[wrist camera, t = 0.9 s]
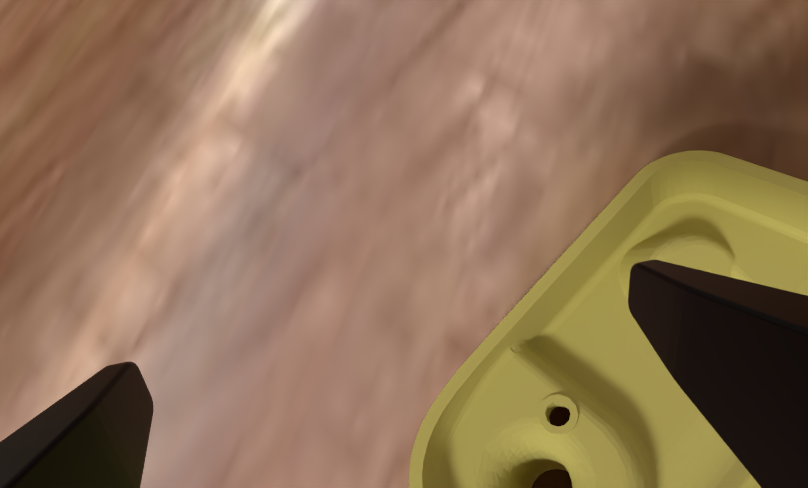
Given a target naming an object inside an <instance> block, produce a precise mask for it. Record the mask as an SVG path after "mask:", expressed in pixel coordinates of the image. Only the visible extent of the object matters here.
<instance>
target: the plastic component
mask: <svg viewBox="0 0 808 488" xmlns="http://www.w3.org/2000/svg"><path fill="white" fill-rule="evenodd" d="M648 260H660V261H664V262H668V263H673V264H677V265H681V266H685V267H689V268H694V269H698V270H702V271H706V272H710V273H715V274H719V275H723V276H727V277H731V278H736V279H740V280H744V281H748V282H752V283H757V284H761V285H765V286H769V287H773V288H778V289H782V290H786V291H790V292H794V293H799V294H803V295H807V296H808V182H807V181H804V180H801V179H798V178H795V177H792V176H789V175H786V174H783V173H780V172H777V171H774V170H771V169H768V168H765V167H762V166H759V165H756V164H753V163H750V162H747V161H744V160H741V159H738V158H735V157H732V156H729V155H726V154H723V153H719V152H712V151H706V150H699V151H684V152H679V153H673V154H670V155H667V156H664V157H662V158H659V159H657V160H655V161H653V162H651V163H650V164H648V165H647V166H645V167H644V168H643V169H641V170H640V171H639V172H638V173H637V174H636V175H635V176H634V177H633V178H632V180H631V181H630V182H629V183H628V184H627V185H626V186H625V187H624V188H623V189H622V190H621V192H620V193H619V194H618V195H617V196H616V197H615V198H614V199H613V200H612V201H611V202H610V203H609V205H608V206H607V207H606V208H605V209H604V210H603V211H602V212H601V213H600V214H599V215H598V217H597V218H596V219H595V220H594V221H593V222H592V223H591V224H590V225H589V226H588V227H587V229H586V230H585V231H584V232H583V233H582V234H581V235H580V236H579V237H578V238H577V239H576V241H575V242H574V243H573V244H572V245H571V246H570V247H569V248H568V249H567V250H566V251H565V253H564V254H563V255H562V256H561V257H560V258H559V259H558V260H557V261H556V262H555V263H554V265H553V266H552V267H551V268H550V269H549V270H548V271H547V272H546V273H545V274H544V275H543V277H542V278H541V279H540V280H539V281H538V282H537V283H536V284H535V285H534V286H533V287H532V289H531V290H530V291H529V292H528V293H527V294H526V295H525V296H524V297H523V298H522V299H521V301H520V302H519V303H518V304H517V305H516V306H515V307H514V308H513V309H512V310H511V311H510V313H509V314H508V315H507V316H506V317H505V318H504V319H503V320H502V321H501V322H500V323H499V325H498V326H497V327H496V328H495V329H494V330H493V331H492V332H491V333H490V334H489V335H488V337H487V338H486V339H485V340H484V341H483V342H482V343H481V344H480V346H479V347H478V348H477V349H476V350H475V351H474V352H473V354H472V355H471V356H470V357H469V358H468V359H467V360H466V362H465V363H464V364H463V365H462V366H461V367H460V368H459V369H458V371H457V372H456V373H455V375H454V376H453V377H452V378H451V380H450V381H449V382H448V383H447V385H446V386H445V387H444V389H443V390H442V391H441V393H440V394H439V396H438V397H437V399H436V400H435V401H434V403H433V404H432V406H431V408H430V409H429V411H428V413H427V415H426V417H425V419H424V420H423V422H422V425H421V427H420V430H419V432H418V434H417V437H416V440H415V443H414V447H413V450H412V455H411V461H410V468H409V488H532V486H533V483H534V481H535V480H536V479H537V478H538V476H539V475H540V474H542V473H544V472H545V471H547V470H553V469H560V470H564V471H567V472H569V475H570V478H571V481H572V488H761V487H760V485H759V484H758V483H757V482H756V481H755V479H754V478H753V477H752V476H751V474H750V473H749V472H748V471H747V469H746V468H745V467H744V466H743V464H742V463H741V462H740V461H739V460H738V458H737V457H736V456H735V455H734V453H733V452H732V451H731V450H730V448H729V447H728V446H727V445H726V443H725V442H724V441H723V440H722V438H721V437H720V436H719V435H718V434H717V432H716V431H715V430H714V429H713V427H712V426H711V425H710V424H709V422H708V421H707V420H706V419H705V417H704V416H703V415H702V414H701V413H700V411H699V410H698V409H697V408H696V406H695V405H694V404H693V403H692V401H691V400H690V399H689V398H688V396H687V395H686V394H685V393H684V392H683V390H682V389H681V388H680V386H679V385H678V384H677V382H676V381H675V380H674V379H673V377H672V376H671V374H670V373H669V371H668V370H667V369H666V367H665V366H664V364H663V362H662V361H661V359H660V358H659V356H658V355H657V353H656V352H655V350H654V349H653V347H652V345H651V344H650V342H649V341H648V339H647V338H646V336H645V335H644V333H643V332H642V330H641V328H640V327H639V325H638V324H637V322H636V321H635V319H634V318H633V316H632V314H631V312H630V310H629V306H628V293H629V280H630V270H631V267H632V266H633V265H634V264H635V263H638V262H643V261H648ZM556 407H565V408H567V409H569V411H570V418H569V421H568V422H567V423H566V424H565V425H562V426H559V427H558V426H554V425H551V424H550V419H549V416H550V413H551V411H552V410H553V409H555V408H556Z"/></svg>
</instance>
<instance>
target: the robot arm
mask: <svg viewBox="0 0 808 488" xmlns="http://www.w3.org/2000/svg"><path fill="white" fill-rule="evenodd" d="M628 306H629V310H630V312H631V314H632V316H633V318H634V319H635V321H636V322H637V324H638V325H639V327H640V328H641V330H642V332H643V333H644V335H645V336H646V338H647V339H648V341H649V342H650V344H651V345H652V347H653V349H654V350H655V352H656V353H657V355H658V356H659V358H660V359H661V361H662V362H663V364H664V366H665V367H666V369H667V370H668V371H669V373H670V374H671V376H672V377H673V379H674V380H675V381H676V382H677V384H678V385H679V386H680V388H681V389H682V390H683V392H684V393H685V394H686V395H687V396H688V398H689V399H690V400H691V401H692V403H693V404H694V405H695V406H696V408H697V409H698V410H699V411H700V413H701V414H702V415H703V416H704V417H705V419H706V420H707V421H708V422H709V424H710V425H711V426H712V427H713V429H714V430H715V431H716V432H717V434H718V435H719V436H720V437H721V438H722V440H723V441H724V442H725V443H726V445H727V446H728V447H729V448H730V450H731V451H732V452H733V453H734V455H735V456H736V457H737V458H738V460H739V461H740V462H741V463H742V464H743V466H744V467H745V468H746V469H747V471H748V472H749V473H750V474H751V476H752V477H753V478H754V479H755V481H756V482H757V483H758V484H759V485H760V487H761V488H808V296H807V295H803V294H799V293H794V292H790V291H786V290H782V289H778V288H773V287H769V286H765V285H761V284H757V283H752V282H748V281H744V280H740V279H736V278H731V277H727V276H723V275H719V274H715V273H710V272H706V271H702V270H698V269H694V268H689V267H685V266H681V265H677V264H673V263H668V262H664V261H660V260H648V261H643V262H638V263H635V264H634V265H633V266H632V267H631V270H630V280H629V293H628ZM152 416H153V401H152V397H151V395H150V392H149V390H148V388H147V386H146V383H145V381H144V379H143V377H142V374H141V372H140V370H139V368H138V366H137V365H136V364H135V363H133V362H124V363H119V364H114V365H109V366H106V367H105V368H103V369H102V370H101V371H99V372H98V373H96V374H95V375H94V376H92V377H91V378H89V379H88V380H87V381H85V382H84V383H82V384H81V385H80V386H78V387H77V388H75V389H74V390H73V391H71V392H70V393H68V394H67V395H66V396H64V397H63V398H61V399H60V400H59V401H57V402H56V403H54V404H53V405H52V406H50V407H49V408H47V409H46V410H45V411H43V412H42V413H40V414H39V415H37V416H36V417H35V418H33V419H32V420H30V421H29V422H28V423H26V424H25V425H23V426H22V427H21V428H19V429H18V430H16V431H15V432H14V433H12V434H11V435H9V436H8V437H7V438H5V439H4V440H2V441H1V442H0V488H140V485H141V480H142V474H143V468H144V462H145V457H146V451H147V445H148V439H149V434H150V428H151V422H152Z"/></svg>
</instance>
